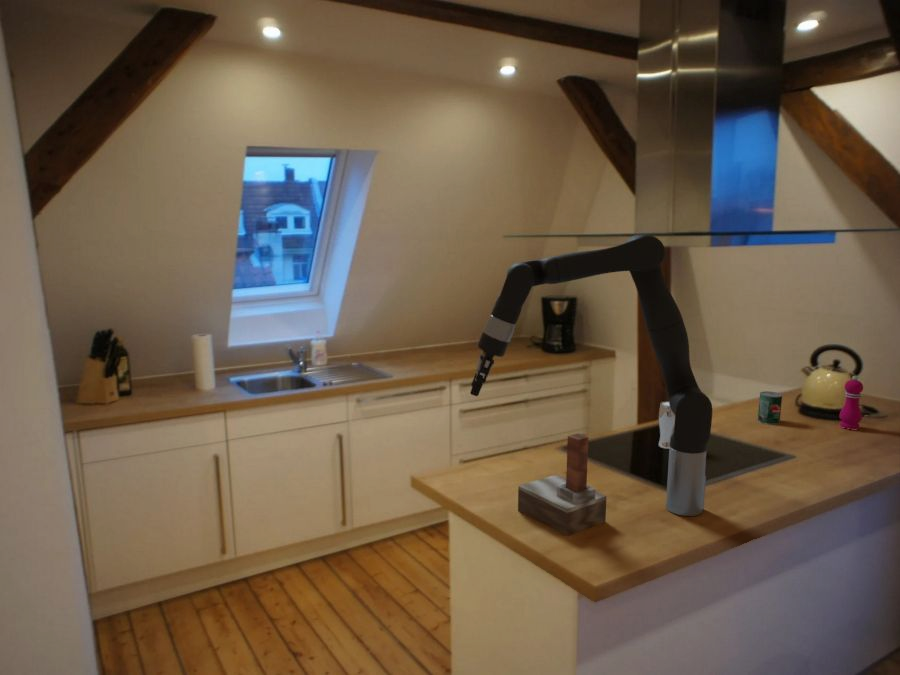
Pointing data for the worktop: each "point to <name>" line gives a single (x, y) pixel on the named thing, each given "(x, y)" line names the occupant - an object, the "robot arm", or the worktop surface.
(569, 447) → the wooden key
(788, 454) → the worktop surface
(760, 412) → the canned tomato
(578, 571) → the worktop surface
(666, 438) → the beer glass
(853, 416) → the pepper mill
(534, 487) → the gray socket block
